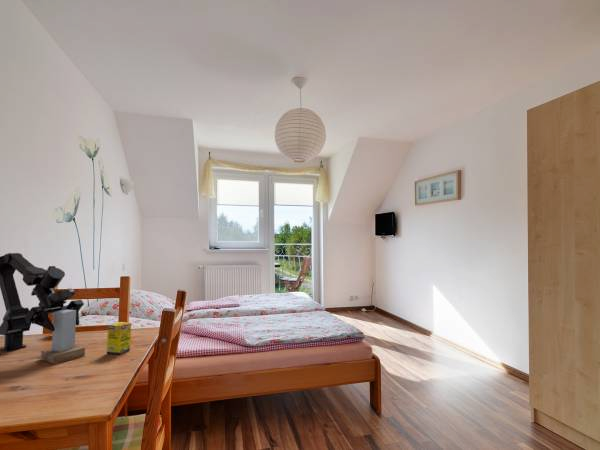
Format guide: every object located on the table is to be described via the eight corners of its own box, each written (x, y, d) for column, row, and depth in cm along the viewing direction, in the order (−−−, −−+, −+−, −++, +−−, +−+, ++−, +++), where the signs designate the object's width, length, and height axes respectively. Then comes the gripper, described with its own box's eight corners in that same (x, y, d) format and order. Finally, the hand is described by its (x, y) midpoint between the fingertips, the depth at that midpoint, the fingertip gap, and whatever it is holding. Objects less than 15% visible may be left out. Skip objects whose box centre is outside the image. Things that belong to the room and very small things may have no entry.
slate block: (51, 350, 122) (53, 312, 123) (65, 346, 127) (66, 309, 127) (61, 351, 120) (63, 312, 121) (74, 347, 125) (76, 310, 126)
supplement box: (119, 355, 126) (120, 325, 127) (106, 353, 127) (107, 325, 128) (130, 350, 132) (131, 322, 133) (117, 349, 133) (118, 321, 134)
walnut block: (40, 359, 121) (41, 350, 121) (70, 351, 130) (70, 343, 130) (54, 364, 116) (55, 355, 117) (84, 355, 125) (85, 347, 125)
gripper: (31, 284, 117) (52, 318, 113) (81, 279, 135) (100, 308, 131) (16, 305, 119) (35, 339, 115) (67, 297, 137) (85, 327, 133)
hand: (66, 327), depth 123 cm, fingers open, 9 cm apart
